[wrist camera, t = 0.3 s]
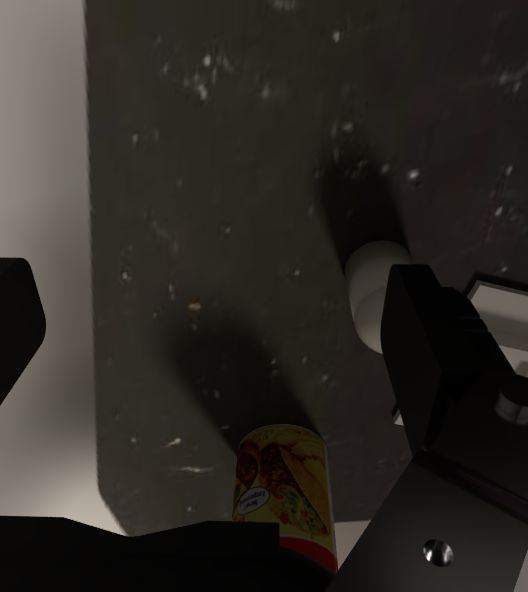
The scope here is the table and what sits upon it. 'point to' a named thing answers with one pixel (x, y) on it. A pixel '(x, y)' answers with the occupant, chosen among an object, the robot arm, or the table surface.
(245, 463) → the canned food
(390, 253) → the white capsule
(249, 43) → the table surface
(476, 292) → the white holder tray
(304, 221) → the table surface
